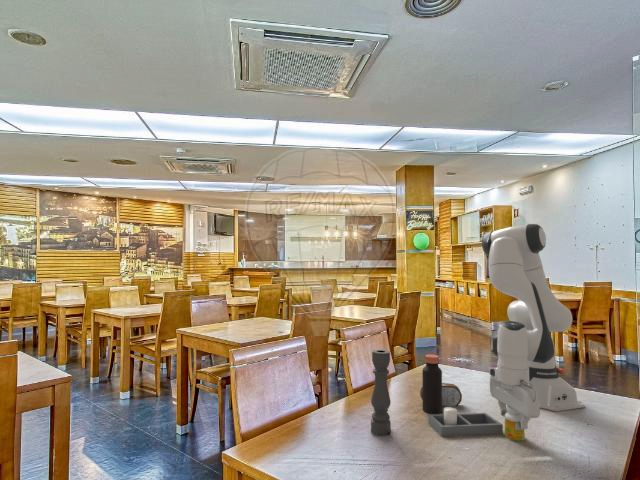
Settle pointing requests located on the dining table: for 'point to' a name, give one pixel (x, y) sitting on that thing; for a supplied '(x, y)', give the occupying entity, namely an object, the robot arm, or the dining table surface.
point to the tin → (448, 395)
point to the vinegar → (432, 385)
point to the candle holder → (380, 394)
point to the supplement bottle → (513, 425)
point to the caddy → (466, 424)
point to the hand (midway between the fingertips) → (513, 422)
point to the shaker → (450, 416)
